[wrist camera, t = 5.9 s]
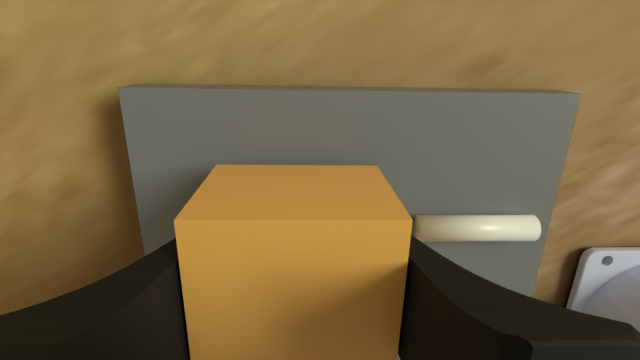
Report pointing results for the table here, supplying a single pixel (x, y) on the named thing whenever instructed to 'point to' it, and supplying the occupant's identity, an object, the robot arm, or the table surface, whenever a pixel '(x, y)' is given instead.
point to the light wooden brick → (293, 263)
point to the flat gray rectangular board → (369, 156)
